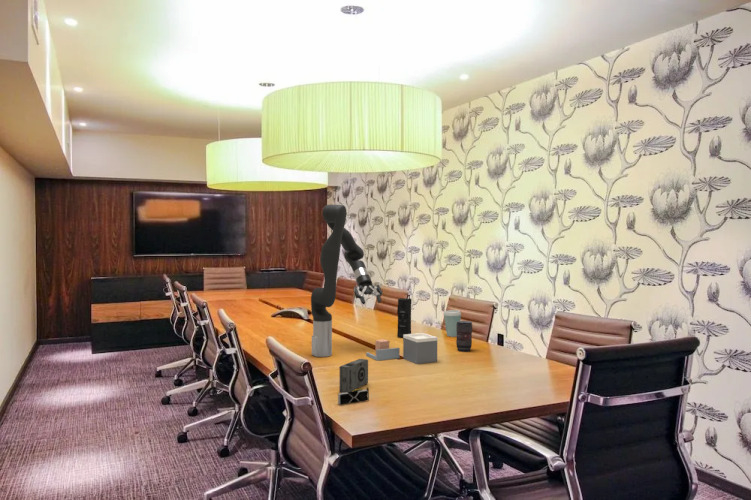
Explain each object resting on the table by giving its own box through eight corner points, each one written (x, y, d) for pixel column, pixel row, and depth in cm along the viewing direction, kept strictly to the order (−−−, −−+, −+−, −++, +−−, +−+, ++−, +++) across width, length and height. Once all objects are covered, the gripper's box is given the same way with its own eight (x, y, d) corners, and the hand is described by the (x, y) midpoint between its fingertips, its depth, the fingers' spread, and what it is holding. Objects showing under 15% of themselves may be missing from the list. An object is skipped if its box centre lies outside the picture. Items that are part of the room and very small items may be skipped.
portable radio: (395, 337, 313) (395, 294, 313) (399, 335, 319) (399, 293, 318) (407, 338, 310) (407, 295, 309) (411, 337, 315) (412, 294, 315)
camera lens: (473, 352, 274) (473, 322, 273) (457, 352, 273) (457, 322, 273) (470, 348, 282) (470, 320, 281) (455, 348, 282) (455, 320, 281)
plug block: (380, 358, 259) (380, 341, 259) (375, 356, 263) (375, 340, 263) (389, 357, 261) (389, 341, 261) (384, 355, 265) (384, 339, 265)
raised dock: (417, 364, 247) (417, 339, 247) (403, 358, 259) (403, 334, 258) (437, 361, 252) (437, 337, 252) (422, 356, 264) (422, 332, 263)
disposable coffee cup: (457, 338, 311) (457, 312, 311) (440, 336, 317) (440, 311, 317) (464, 335, 320) (464, 310, 320) (447, 333, 326) (447, 309, 326)
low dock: (377, 360, 254) (377, 350, 253) (366, 355, 265) (366, 345, 264) (399, 358, 259) (399, 347, 259) (387, 353, 270) (387, 343, 270)
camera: (346, 394, 199) (346, 367, 199) (337, 392, 201) (337, 366, 201) (368, 384, 213) (368, 358, 213) (359, 382, 215) (360, 357, 215)
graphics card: (367, 400, 193) (366, 386, 194) (371, 400, 191) (369, 386, 192) (338, 405, 187) (336, 390, 188) (341, 405, 185) (339, 390, 186)
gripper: (352, 274, 276) (361, 299, 266) (377, 272, 282) (387, 297, 272) (348, 283, 281) (357, 308, 271) (373, 282, 287) (382, 306, 277)
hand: (372, 302), depth 271 cm, fingers open, 8 cm apart
